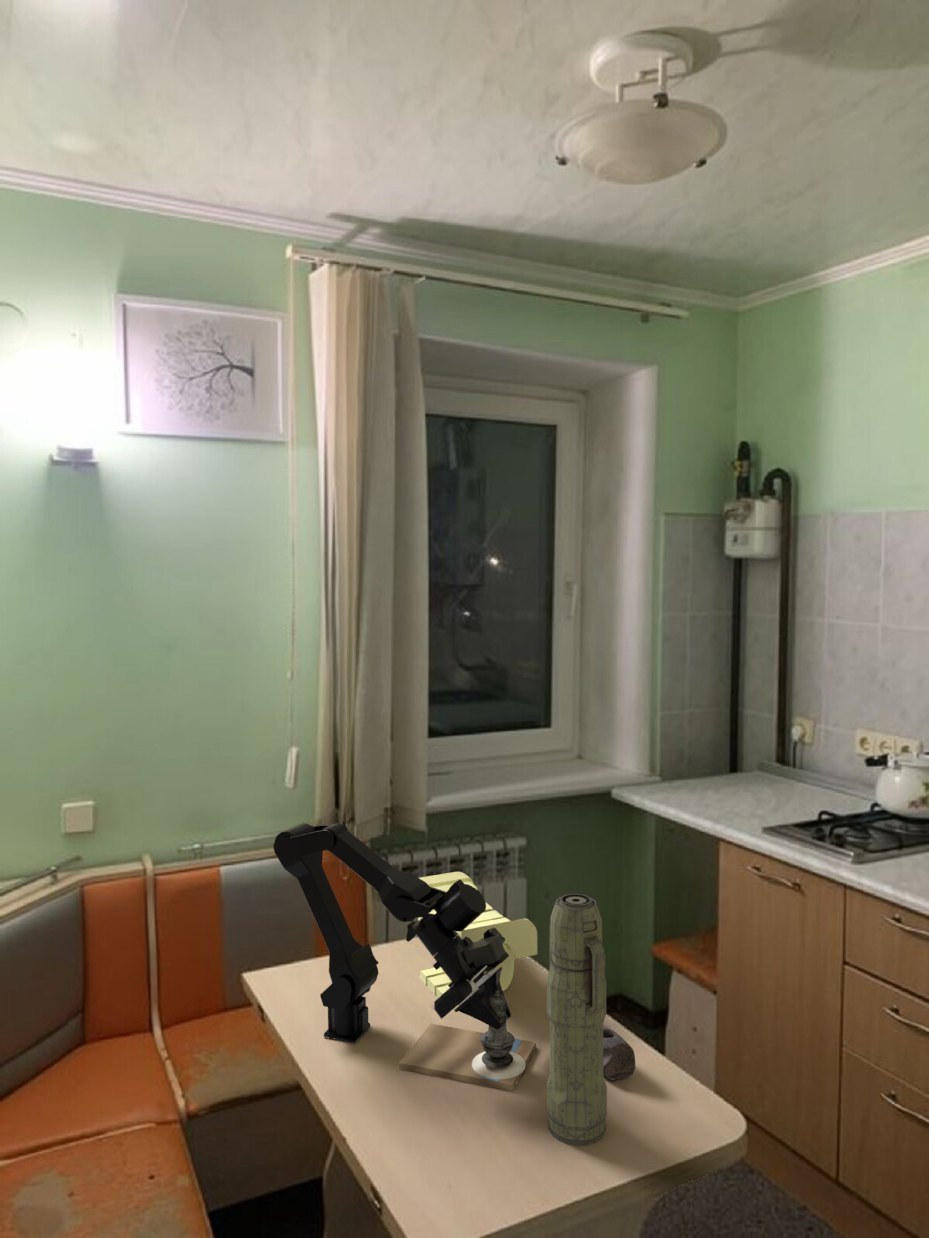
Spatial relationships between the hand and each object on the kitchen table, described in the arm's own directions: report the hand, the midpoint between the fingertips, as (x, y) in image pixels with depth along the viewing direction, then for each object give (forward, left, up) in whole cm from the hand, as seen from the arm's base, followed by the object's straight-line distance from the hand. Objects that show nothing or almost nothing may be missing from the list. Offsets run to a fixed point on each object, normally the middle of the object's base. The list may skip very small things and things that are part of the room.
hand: (504, 1022), depth 151 cm
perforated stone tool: (+15, +7, -9) cm, 19 cm away
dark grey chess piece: (-1, 0, -7) cm, 7 cm away
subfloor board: (-7, +2, -8) cm, 11 cm away
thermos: (+15, -11, -9) cm, 20 cm away
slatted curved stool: (-17, +29, -9) cm, 34 cm away
